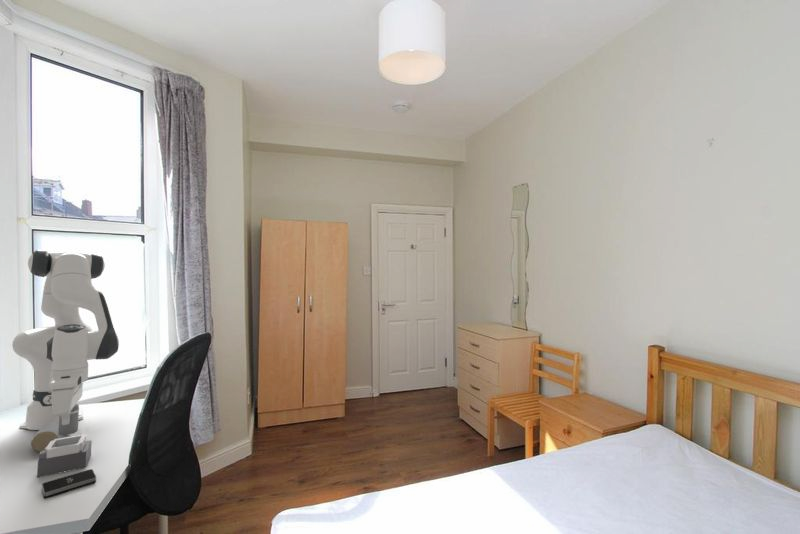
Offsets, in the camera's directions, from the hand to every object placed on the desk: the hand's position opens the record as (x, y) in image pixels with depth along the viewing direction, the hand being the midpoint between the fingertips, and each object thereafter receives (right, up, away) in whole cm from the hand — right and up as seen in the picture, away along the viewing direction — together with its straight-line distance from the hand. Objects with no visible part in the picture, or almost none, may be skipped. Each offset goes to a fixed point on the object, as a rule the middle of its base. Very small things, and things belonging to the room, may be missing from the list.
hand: (68, 420), depth 115 cm
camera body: (0, -14, 0) cm, 14 cm away
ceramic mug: (-16, -15, +12) cm, 25 cm away
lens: (0, -4, 0) cm, 4 cm away
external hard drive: (+11, -14, -11) cm, 21 cm away
